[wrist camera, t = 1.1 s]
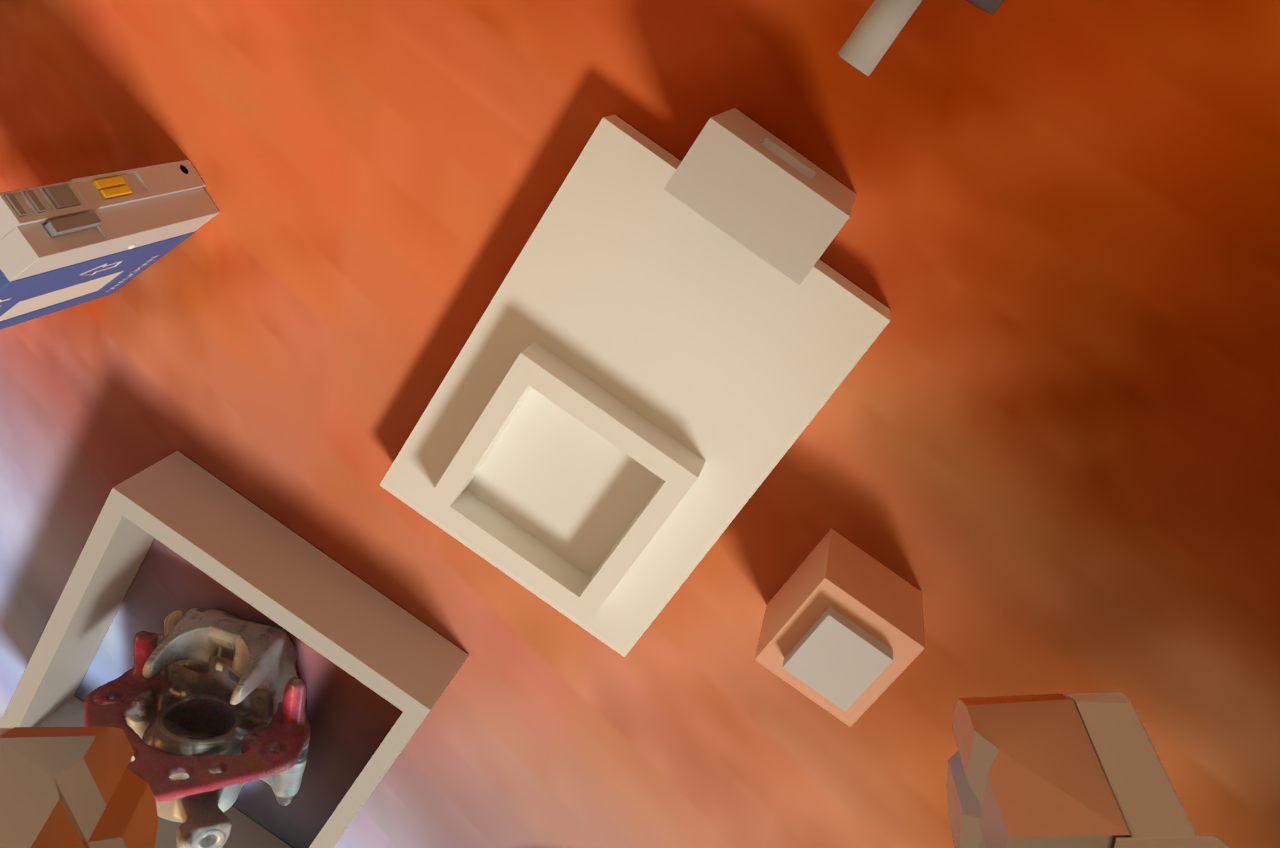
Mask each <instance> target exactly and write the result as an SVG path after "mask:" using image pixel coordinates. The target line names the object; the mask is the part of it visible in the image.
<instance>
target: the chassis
mask: <svg viewBox="0 0 1280 848" xmlns="http://www.w3.org/2000/svg"><path fill="white" fill-rule="evenodd" d="M855 196H856V193H854V192H853V191H852V190H850V189H849V188H847V187H846V186H844V185H843V184H842V183H840V182H839V181H837V180H836V179H835V178H833V177H832V176H830V175H829V174H828V173H826V172H825V171H823V170H822V169H821V168H819V167H818V166H816V165H815V164H813V163H812V162H811V161H809V160H808V159H806V158H805V157H804V156H802V155H801V154H799V153H798V152H797V151H795V150H794V149H792V148H791V147H790V146H788V145H787V144H785V143H784V142H782V141H781V140H780V139H778V138H777V137H775V136H774V135H773V134H771V133H770V132H768V131H767V130H766V129H764V128H763V127H761V126H760V125H759V124H757V123H756V122H754V121H753V120H751V119H750V118H749V117H747V116H746V115H744V114H743V113H742V112H740V111H739V110H737V109H736V108H733V109H730V110H728V111H725V112H723V113H720V114H718V115H716V116H713V117H711V118H710V119H709V120H708V122H707V123H706V125H705V126H704V128H703V129H702V131H701V133H700V134H699V136H698V137H697V139H696V140H695V142H694V143H693V145H692V146H691V148H690V149H689V151H688V152H687V154H686V156H685V157H684V159H683V160H682V162H681V161H680V160H679V159H677V158H676V157H674V156H673V155H672V154H670V153H669V152H667V151H666V150H664V149H663V148H662V147H660V146H659V145H657V144H656V143H655V142H653V141H652V140H650V139H649V138H648V137H646V136H645V135H643V134H642V133H640V132H639V131H638V130H636V129H635V128H633V127H632V126H631V125H629V124H628V123H626V122H625V121H624V120H622V119H621V118H619V117H618V116H616V115H615V114H614V115H610V116H606V117H603V118H602V119H601V121H600V123H599V124H598V126H597V128H596V129H595V131H594V133H593V134H592V136H591V138H590V139H589V141H588V143H587V144H586V146H585V147H584V149H583V151H582V152H581V154H580V156H579V157H578V159H577V161H576V162H575V164H574V166H573V167H572V169H571V171H570V172H569V174H568V175H567V177H566V179H565V180H564V182H563V184H562V185H561V187H560V189H559V190H558V192H557V194H556V195H555V197H554V199H553V200H552V202H551V203H550V205H549V207H548V208H547V210H546V212H545V213H544V215H543V217H542V218H541V220H540V222H539V223H538V225H537V227H536V228H535V230H534V231H533V233H532V235H531V236H530V238H529V240H528V241H527V243H526V245H525V246H524V248H523V250H522V251H521V253H520V255H519V256H518V258H517V259H516V261H515V263H514V264H513V266H512V268H511V269H510V271H509V273H508V274H507V276H506V278H505V279H504V281H503V283H502V284H501V286H500V287H499V289H498V291H497V292H496V294H495V296H494V297H493V299H492V301H491V302H490V304H489V306H488V307H487V309H486V311H485V312H484V314H483V315H482V317H481V319H480V320H479V322H478V324H477V325H476V327H475V329H474V330H473V332H472V334H471V335H470V337H469V339H468V340H467V342H466V343H465V345H464V347H463V348H462V350H461V352H460V353H459V355H458V357H457V358H456V360H455V362H454V363H453V365H452V367H451V368H450V370H449V371H448V373H447V375H446V376H445V378H444V380H443V381H442V383H441V385H440V386H439V388H438V390H437V391H436V393H435V395H434V396H433V398H432V399H431V401H430V403H429V404H428V406H427V408H426V409H425V411H424V413H423V414H422V416H421V418H420V419H419V421H418V423H417V424H416V426H415V427H414V429H413V431H412V432H411V434H410V436H409V437H408V439H407V441H406V442H405V444H404V446H403V447H402V449H401V451H400V452H399V454H398V455H397V457H396V459H395V460H394V462H393V464H392V465H391V467H390V469H389V470H388V472H387V474H386V475H385V477H384V479H383V480H382V482H381V483H380V486H381V487H383V488H384V489H385V490H387V491H388V492H390V493H391V494H393V495H394V496H395V497H397V498H398V499H400V500H401V501H403V502H404V503H405V504H407V505H408V506H410V507H411V508H412V509H414V510H415V511H417V512H418V513H420V514H421V515H422V516H424V517H425V518H427V519H428V520H430V521H431V522H432V523H434V524H435V525H437V526H438V527H440V528H441V529H442V530H444V531H445V532H447V533H448V534H450V535H451V536H452V537H454V538H455V539H457V540H458V541H459V542H461V543H462V544H464V545H465V546H467V547H468V548H469V549H471V550H472V551H474V552H475V553H477V554H478V555H479V556H481V557H482V558H484V559H485V560H487V561H488V562H489V563H491V564H492V565H494V566H495V567H496V568H498V569H499V570H501V571H502V572H504V573H505V574H506V575H508V576H509V577H511V578H512V579H514V580H515V581H516V582H518V583H519V584H521V585H522V586H524V587H525V588H526V589H528V590H529V591H531V592H532V593H534V594H535V595H536V596H538V597H539V598H541V599H542V600H543V601H545V602H546V603H548V604H549V605H551V606H552V607H553V608H555V609H556V610H558V611H559V612H561V613H562V614H563V615H565V616H566V617H568V618H569V619H571V620H572V621H573V622H575V623H576V624H578V625H579V626H581V627H582V628H583V629H585V630H586V631H588V632H589V633H590V634H592V635H593V636H595V637H596V638H598V639H599V640H600V641H602V642H603V643H605V644H606V645H608V646H609V647H610V648H612V649H613V650H615V651H616V652H618V653H619V654H620V655H622V656H623V657H625V656H626V655H627V653H628V652H629V651H630V650H631V648H632V647H633V646H634V644H635V643H636V642H637V641H638V639H639V638H640V637H641V636H642V634H643V633H644V632H645V631H646V629H647V628H648V627H649V625H650V624H651V623H652V622H653V620H654V619H655V618H656V617H657V615H658V614H659V613H660V612H661V610H662V609H663V608H664V606H665V605H666V604H667V603H668V601H669V600H670V599H671V598H672V596H673V595H674V594H675V593H676V591H677V590H678V589H679V588H680V586H681V585H682V584H683V582H684V581H685V580H686V579H687V577H688V576H689V575H690V574H691V572H692V571H693V570H694V569H695V567H696V566H697V565H698V563H699V562H700V561H701V560H702V558H703V557H704V556H705V555H706V553H707V552H708V551H709V550H710V548H711V547H712V546H713V544H714V543H715V542H716V541H717V539H718V538H719V537H720V536H721V534H722V533H723V532H724V531H725V529H726V528H727V527H728V525H729V524H730V523H731V522H732V520H733V519H734V518H735V517H736V515H737V514H738V513H739V512H740V510H741V509H742V508H743V507H744V505H745V504H746V503H747V501H748V500H749V499H750V498H751V496H752V495H753V494H754V493H755V491H756V490H757V489H758V488H759V486H760V485H761V484H762V482H763V481H764V480H765V479H766V477H767V476H768V475H769V474H770V472H771V471H772V470H773V469H774V467H775V466H776V465H777V463H778V462H779V461H780V460H781V458H782V457H783V456H784V455H785V453H786V452H787V451H788V450H789V448H790V447H791V446H792V444H793V443H794V442H795V441H796V439H797V438H798V437H799V436H800V434H801V433H802V432H803V431H804V429H805V428H806V427H807V426H808V424H809V423H810V422H811V420H812V419H813V418H814V417H815V415H816V414H817V413H818V412H819V410H820V409H821V408H822V407H823V405H824V404H825V403H826V401H827V400H828V399H829V398H830V396H831V395H832V394H833V393H834V391H835V390H836V389H837V388H838V386H839V385H840V384H841V382H842V381H843V380H844V379H845V377H846V376H847V375H848V374H849V372H850V371H851V370H852V369H853V367H854V366H855V365H856V363H857V362H858V361H859V360H860V358H861V357H862V356H863V355H864V353H865V352H866V351H867V350H868V348H869V347H870V346H871V344H872V343H873V342H874V341H875V339H876V338H877V337H878V336H879V334H880V333H881V332H882V331H883V329H884V328H885V327H886V326H887V324H888V323H889V322H890V309H889V308H887V307H886V306H885V305H883V304H882V303H880V302H879V301H878V300H876V299H875V298H873V297H872V296H871V295H869V294H868V293H866V292H865V291H863V290H862V289H861V288H859V287H858V286H856V285H855V284H854V283H852V282H851V281H849V280H848V279H847V278H845V277H844V276H842V275H841V274H839V273H838V272H837V271H835V270H834V269H832V268H831V267H830V266H828V265H827V264H825V263H824V262H823V261H821V260H820V259H819V258H820V257H821V255H822V254H823V253H824V251H825V250H826V249H827V247H828V246H829V245H830V243H831V242H832V240H833V239H834V238H835V236H836V235H837V234H838V232H839V231H840V230H841V228H842V227H843V226H844V224H845V223H846V222H847V220H848V219H849V217H850V215H851V211H852V207H853V203H854V199H855Z"/></svg>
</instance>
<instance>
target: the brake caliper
mask: <svg viewBox="0 0 1280 848" xmlns="http://www.w3.org/2000/svg"><path fill="white" fill-rule="evenodd" d="M164 629H165V636H162V635H159V634H155V633H150V632H146V631H141V632H138V633H136V635H135V638H134V662H135V664H134V667H133V668H132V669H130V670H128V671H127V672H125V673H124V674H123V675H122V676H120V677H119V678H117V679H115V680H113V681H110V682H108V683H106V684H104V685H102V686H100V687H98V688H97V689H95V690H94V691H92V692H91V693H90V694H89V695H88V697H87V698H86V700H85V702H84V708H85V713H84V721H85V727H114V728H120V729H123V731H124V732H125V734H126V736H127V738H128V740H129V742H130V744H131V746H132V748H133V750H134V754H133V756H132V758H131V762H129V764H128V766H127V769H129V770H130V771H132V772H133V773H134V774H136V775H137V776H139V777H140V778H142V779H143V780H144V781H146V782H147V783H148V784H149V786H150V788H151V791H152V793H153V795H154V798H155V800H156V807H157V815H158V816H159V817H161V818H164V819H166V820H169V821H173V822H183V824H181V825H180V826H179V827H178V829H177V831H176V848H222V847H223V845H224V844H225V842H226V841H227V839H228V837H229V835H230V831H231V827H232V822H231V820H230V819H229V818H228V817H227V816H226V815H225V814H224V813H223V812H225V811H227V810H228V809H229V808H230V807H231V806H232V805H233V804H234V803H235V801H236V800H237V798H238V795H239V793H240V791H241V789H242V787H243V786H244V784H245V783H247V782H249V781H252V780H256V779H259V780H262V781H264V782H266V783H267V784H269V785H270V786H271V788H272V790H273V793H274V795H275V798H276V801H277V802H278V803H279V804H280V805H283V806H287V805H288V804H290V803H291V801H292V799H293V798H294V796H295V795H296V794H297V792H298V791H299V789H300V786H301V783H302V776H303V772H304V769H305V766H306V762H307V754H308V746H309V741H310V723H309V718H308V713H307V699H306V694H307V687H306V683H305V682H304V681H303V680H301V679H299V678H298V676H297V669H296V659H297V648H296V646H295V645H294V643H293V642H292V641H291V639H290V637H289V635H288V633H287V632H286V631H285V630H283V629H281V628H278V627H273V626H269V625H265V624H261V623H257V622H253V621H249V620H243V619H240V618H238V617H236V616H235V615H233V614H231V613H229V612H226V611H221V610H214V609H205V608H192V609H189V610H188V611H187V612H186V613H185V612H183V611H179V610H174V611H173V612H172V613H170V614H169V615H167V617H166V618H165V620H164ZM125 718H126V721H127V724H126V723H125V720H124V719H125Z"/></svg>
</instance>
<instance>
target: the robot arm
mask: <svg viewBox="0 0 1280 848" xmlns="http://www.w3.org/2000/svg"><path fill="white" fill-rule="evenodd" d="M952 729H953V732H954V736H955V739H956V743H957V747H958V751H957V752H956V753H955V754H954V755H953V756H952V757H951V758H950V759H949V760H948V770H947V783H946V788H947V807H948V817H949V823H950V829H951V834H952V839H953V843H954V847H955V848H1230V847H1229V846H1228V845H1226V844H1225V843H1224V842H1222V841H1221V840H1220V839H1218V838H1217V837H1216V836H1198V835H1197V833H1196V831H1195V829H1194V827H1193V825H1192V823H1191V821H1190V819H1189V817H1188V815H1187V813H1186V811H1185V809H1184V807H1183V805H1182V803H1181V801H1180V799H1179V797H1178V795H1177V793H1176V791H1175V789H1174V787H1173V785H1172V783H1171V781H1170V779H1169V777H1168V775H1167V773H1166V771H1165V769H1164V767H1163V765H1162V763H1161V761H1160V759H1159V757H1158V754H1157V752H1156V750H1155V748H1154V746H1153V744H1152V742H1151V740H1150V738H1149V736H1148V734H1147V732H1146V730H1145V728H1144V726H1143V724H1142V722H1141V720H1140V718H1139V716H1138V714H1137V712H1136V710H1135V708H1134V706H1133V704H1132V702H1131V700H1130V699H1129V698H1128V697H1127V696H1126V695H1124V694H1123V693H1122V692H1097V693H1072V694H1066V695H1063V694H1044V695H1020V696H997V697H974V698H959V699H958V701H957V703H956V706H955V708H954V716H953V723H952ZM133 754H134V750H133V748H132V746H131V744H130V742H129V740H128V738H127V736H126V734H125V732H124V731H123V729H120V728H114V727H14V728H0V848H154V847H155V841H156V835H157V829H158V815H157V807H156V800H155V798H154V795H153V793H152V791H151V788H150V786H149V784H148V783H147V782H146V781H144V780H143V779H142V778H140V777H139V776H137V775H136V774H134V773H133V772H132V771H130V770H129V769H127V766H128V764H129V762H130V760H131V758H132V756H133Z"/></svg>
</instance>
